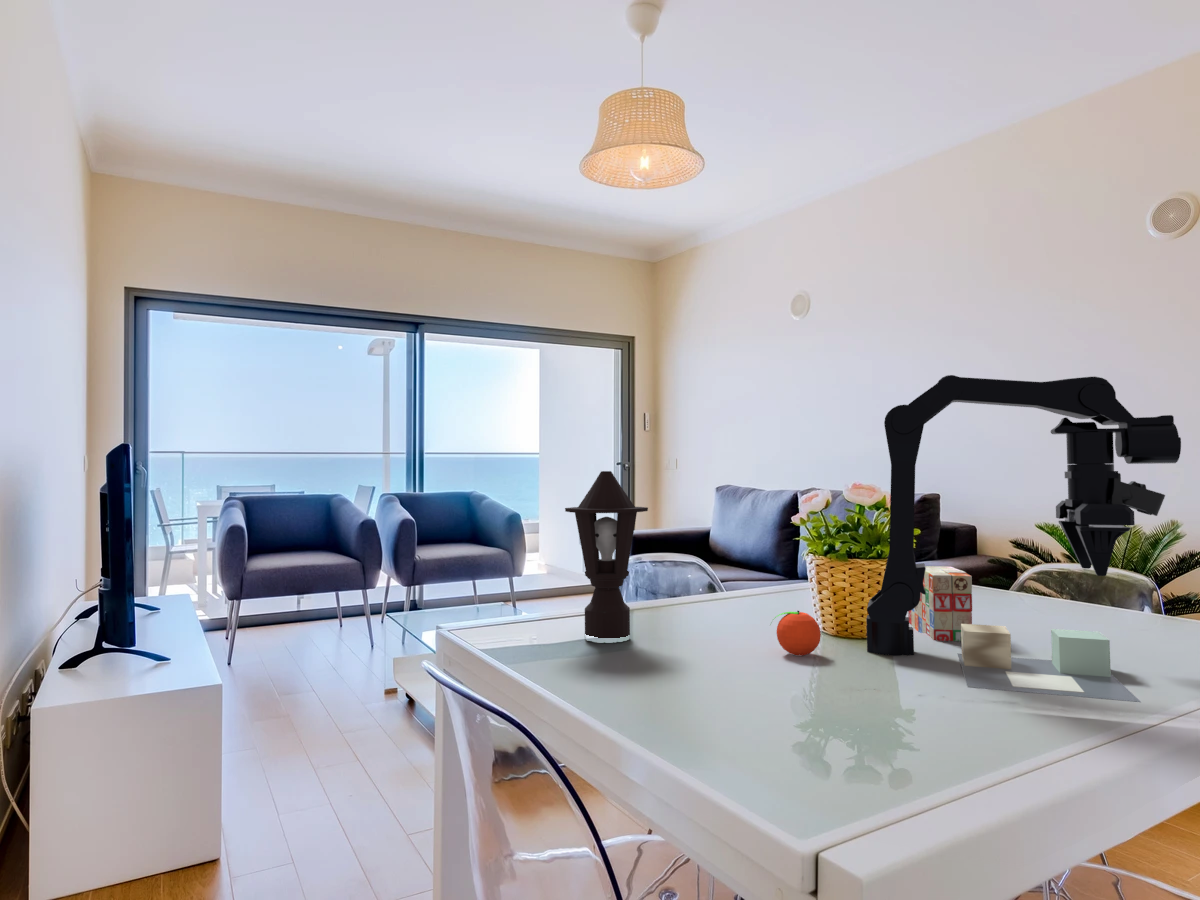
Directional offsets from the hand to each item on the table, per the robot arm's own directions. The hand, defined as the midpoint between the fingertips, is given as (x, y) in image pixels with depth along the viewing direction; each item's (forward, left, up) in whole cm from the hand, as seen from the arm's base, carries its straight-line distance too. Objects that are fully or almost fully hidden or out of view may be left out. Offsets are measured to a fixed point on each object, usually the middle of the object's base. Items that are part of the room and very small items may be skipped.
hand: (1093, 572), depth 109 cm
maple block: (-15, -3, -14) cm, 20 cm away
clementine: (-42, -3, -15) cm, 45 cm away
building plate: (-9, -8, -15) cm, 19 cm away
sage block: (-3, -3, -14) cm, 14 cm away
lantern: (-75, -2, -15) cm, 76 cm away
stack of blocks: (-20, +22, -15) cm, 33 cm away
